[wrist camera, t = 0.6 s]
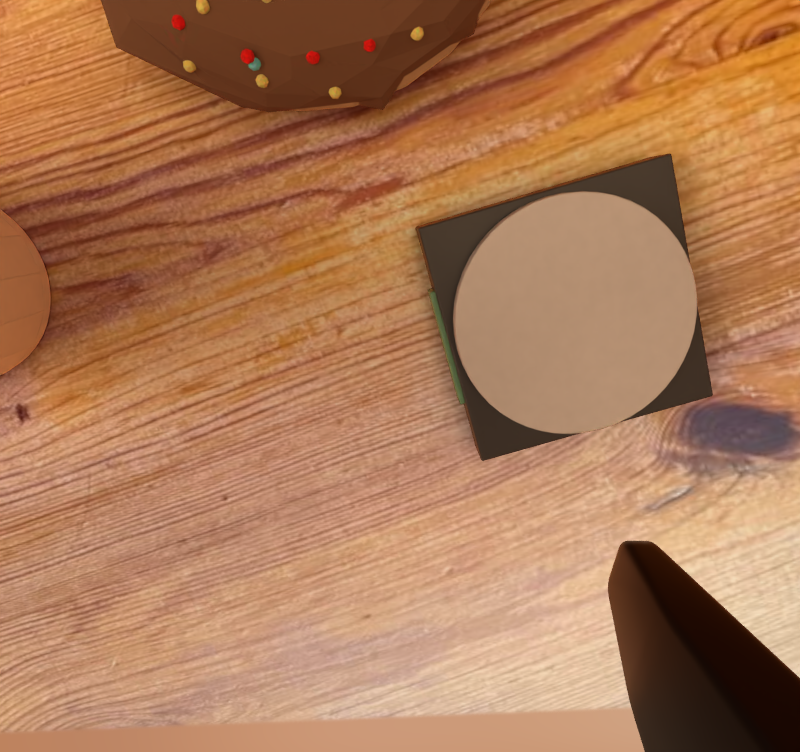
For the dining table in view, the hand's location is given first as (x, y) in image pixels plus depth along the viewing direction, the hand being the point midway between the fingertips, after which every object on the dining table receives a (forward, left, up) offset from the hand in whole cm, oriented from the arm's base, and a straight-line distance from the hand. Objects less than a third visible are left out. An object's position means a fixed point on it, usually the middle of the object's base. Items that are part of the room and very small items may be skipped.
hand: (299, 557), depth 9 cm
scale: (+7, -5, -17) cm, 19 cm away
